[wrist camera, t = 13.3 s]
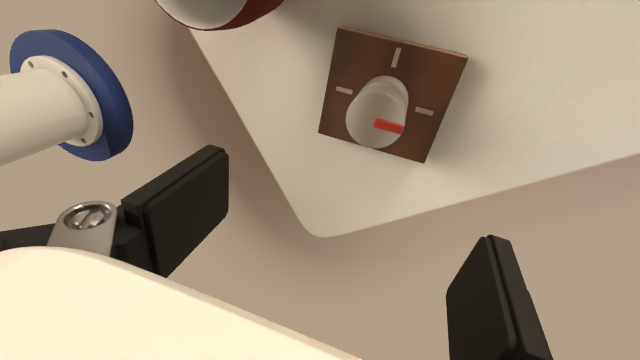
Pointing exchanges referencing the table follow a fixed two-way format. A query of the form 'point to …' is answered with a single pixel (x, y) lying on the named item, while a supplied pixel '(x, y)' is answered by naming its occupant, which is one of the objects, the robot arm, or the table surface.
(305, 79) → the table surface
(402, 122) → the tap knob
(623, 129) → the table surface
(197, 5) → the mug
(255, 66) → the table surface
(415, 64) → the panel
